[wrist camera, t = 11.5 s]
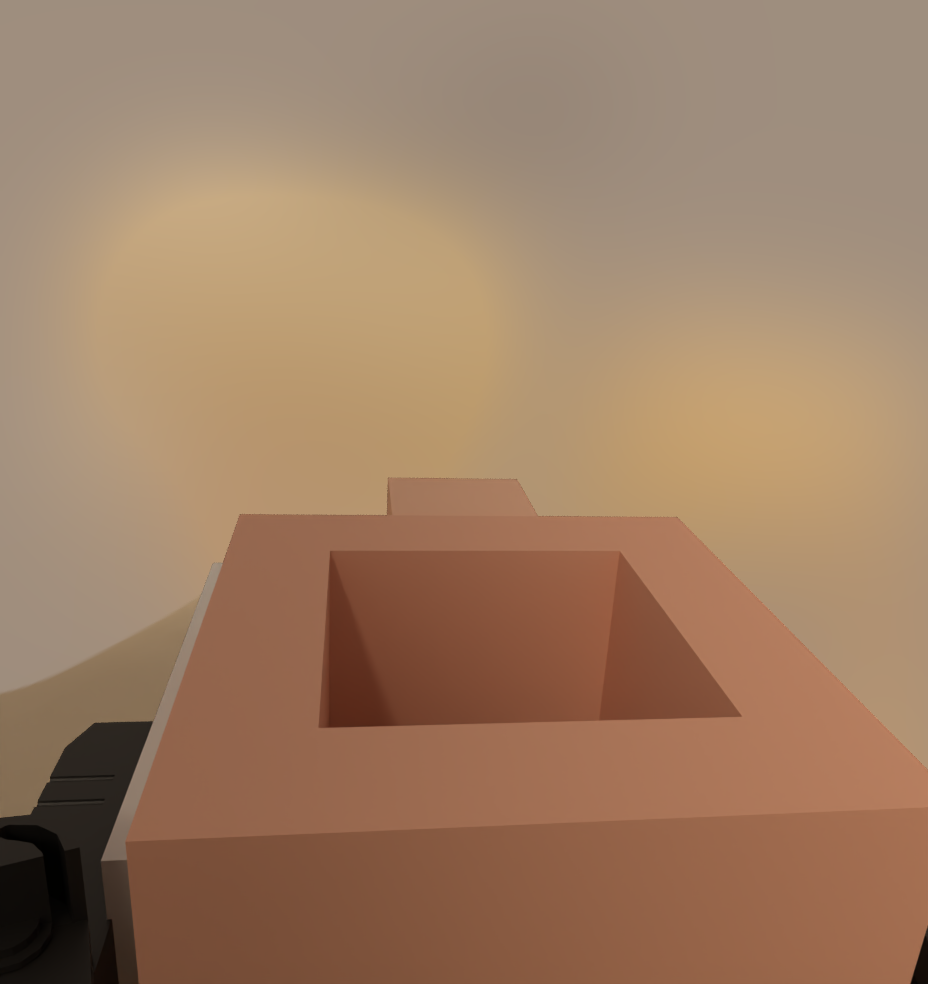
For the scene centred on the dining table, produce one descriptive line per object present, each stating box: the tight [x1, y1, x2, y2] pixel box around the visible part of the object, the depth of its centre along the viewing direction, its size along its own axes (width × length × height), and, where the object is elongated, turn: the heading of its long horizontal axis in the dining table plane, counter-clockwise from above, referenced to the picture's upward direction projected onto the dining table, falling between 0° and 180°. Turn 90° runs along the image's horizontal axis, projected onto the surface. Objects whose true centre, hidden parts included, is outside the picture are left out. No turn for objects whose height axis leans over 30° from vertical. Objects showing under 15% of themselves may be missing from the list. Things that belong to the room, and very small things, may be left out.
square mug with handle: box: [125, 478, 928, 984], centre depth 11 cm, size 6×8×9 cm
